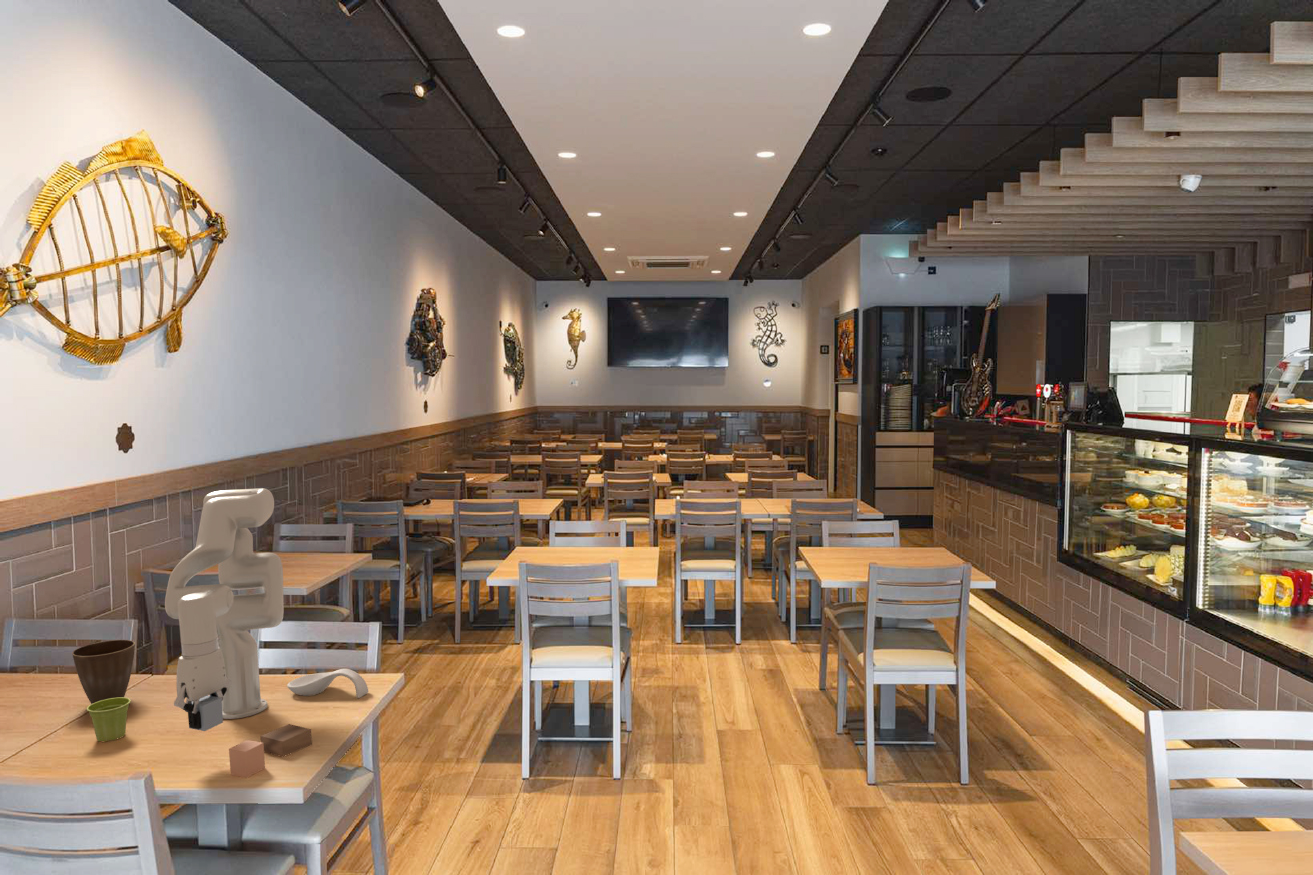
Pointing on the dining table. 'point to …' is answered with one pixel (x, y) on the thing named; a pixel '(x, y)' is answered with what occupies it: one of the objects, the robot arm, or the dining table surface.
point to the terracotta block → (246, 758)
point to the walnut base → (286, 740)
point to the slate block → (210, 712)
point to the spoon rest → (326, 682)
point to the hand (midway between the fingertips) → (205, 722)
